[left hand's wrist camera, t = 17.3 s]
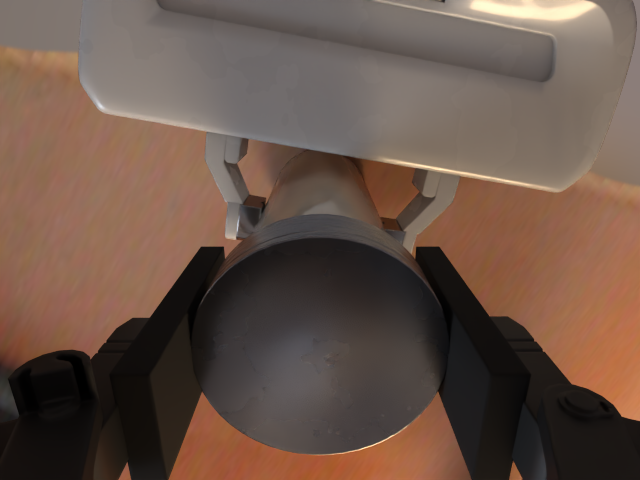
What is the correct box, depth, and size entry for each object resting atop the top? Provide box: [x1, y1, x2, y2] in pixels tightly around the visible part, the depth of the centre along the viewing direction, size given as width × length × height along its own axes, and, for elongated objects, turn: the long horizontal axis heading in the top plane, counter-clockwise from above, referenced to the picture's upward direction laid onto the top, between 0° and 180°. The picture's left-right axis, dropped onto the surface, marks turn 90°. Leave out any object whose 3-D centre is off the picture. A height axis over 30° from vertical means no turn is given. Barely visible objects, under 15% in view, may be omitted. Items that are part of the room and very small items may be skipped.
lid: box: [191, 214, 449, 455], centre depth 11 cm, size 6×6×2 cm
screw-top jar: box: [254, 150, 387, 233], centre depth 18 cm, size 6×6×16 cm
